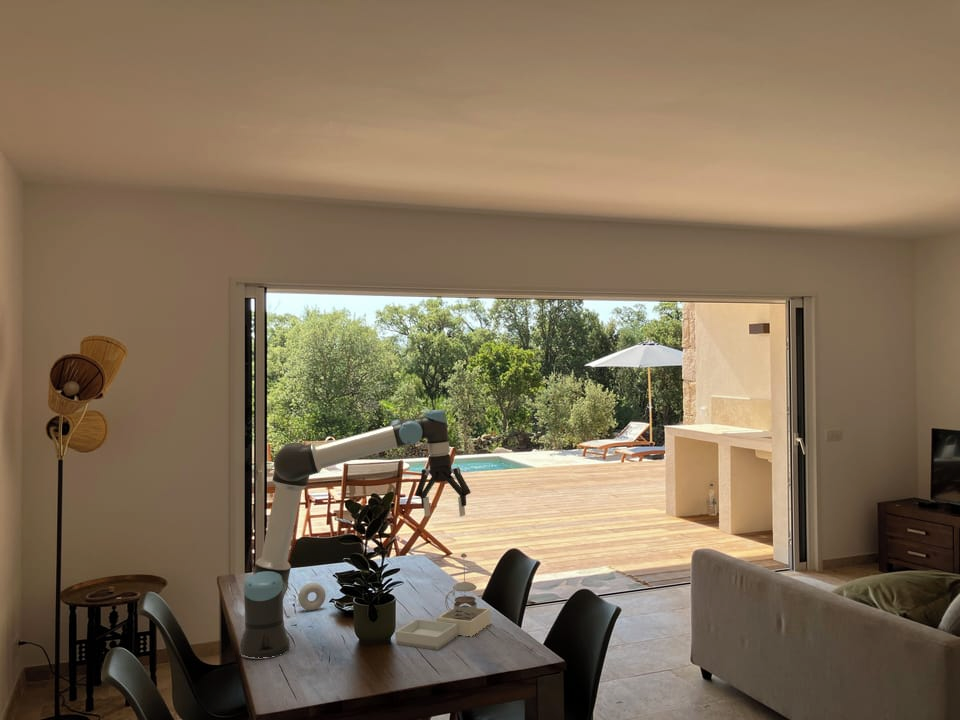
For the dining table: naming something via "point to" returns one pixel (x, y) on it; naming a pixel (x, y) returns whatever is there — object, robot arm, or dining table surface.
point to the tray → (426, 634)
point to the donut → (305, 592)
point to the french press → (464, 600)
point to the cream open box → (468, 626)
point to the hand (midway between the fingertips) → (444, 515)
